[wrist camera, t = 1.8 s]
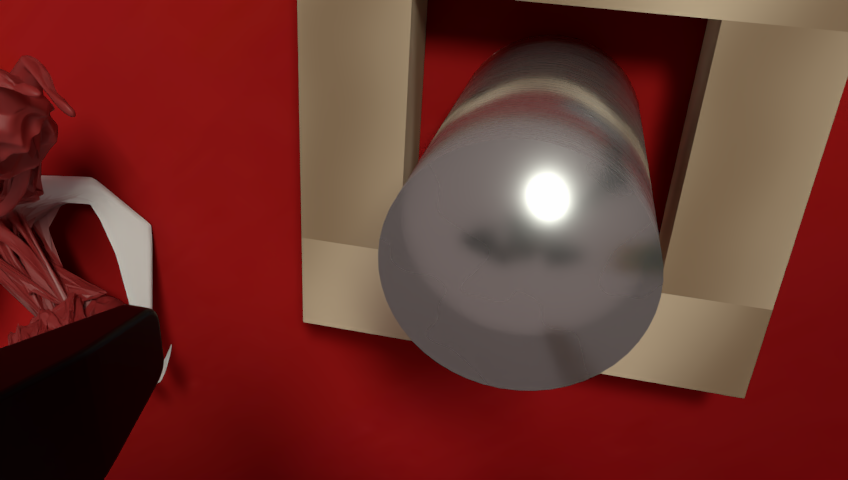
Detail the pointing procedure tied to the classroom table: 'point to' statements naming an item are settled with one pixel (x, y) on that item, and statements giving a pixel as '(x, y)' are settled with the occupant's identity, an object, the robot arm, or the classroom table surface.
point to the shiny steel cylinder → (529, 223)
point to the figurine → (38, 205)
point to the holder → (688, 195)
